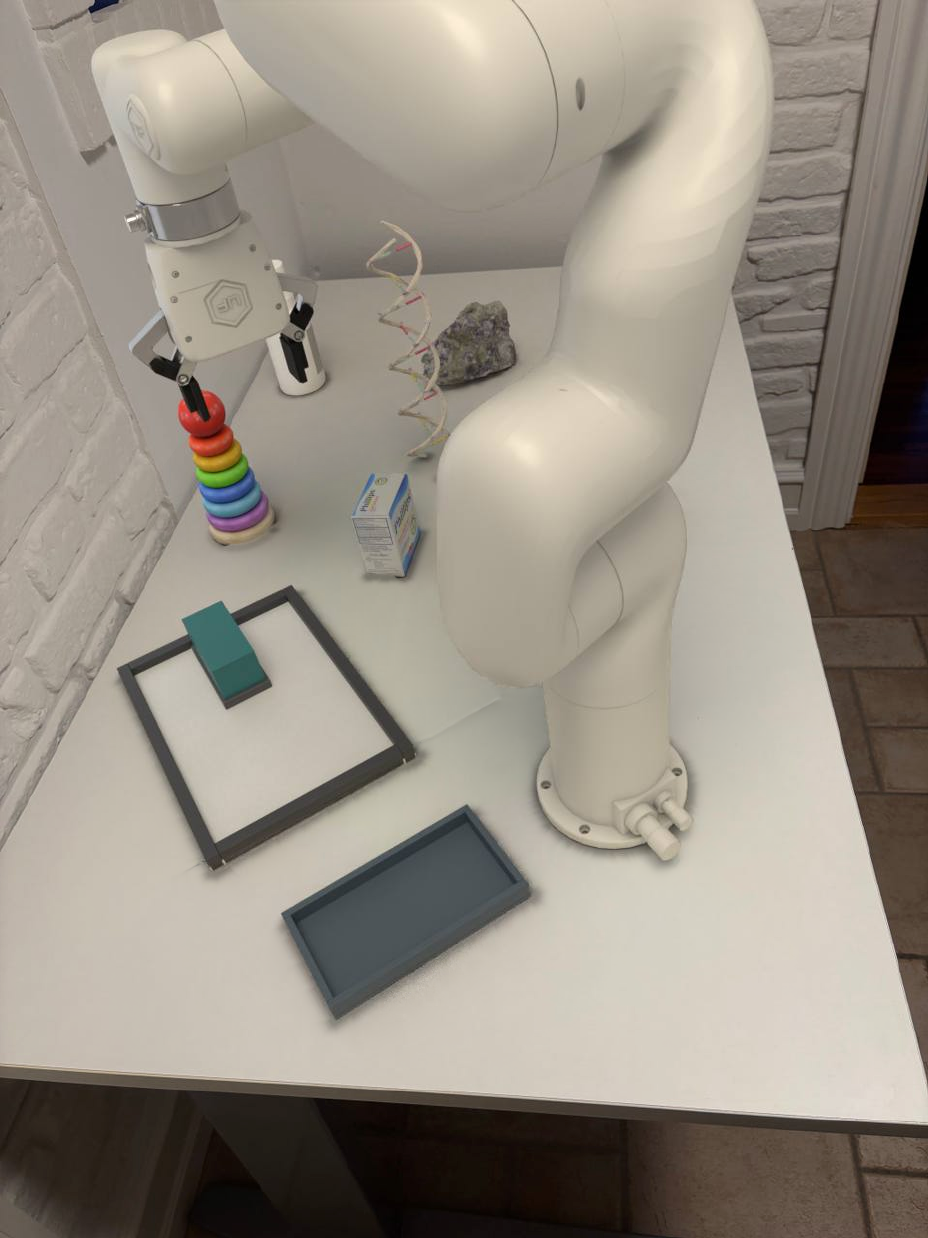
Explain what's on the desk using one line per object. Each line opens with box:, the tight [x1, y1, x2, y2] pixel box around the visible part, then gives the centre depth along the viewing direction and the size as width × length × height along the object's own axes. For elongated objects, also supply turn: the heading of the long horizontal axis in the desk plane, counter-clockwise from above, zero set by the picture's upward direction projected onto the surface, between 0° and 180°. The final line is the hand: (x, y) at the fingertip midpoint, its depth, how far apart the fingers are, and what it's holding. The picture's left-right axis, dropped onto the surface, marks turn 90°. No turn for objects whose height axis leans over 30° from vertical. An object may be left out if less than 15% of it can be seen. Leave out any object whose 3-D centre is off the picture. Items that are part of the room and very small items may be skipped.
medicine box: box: [350, 472, 421, 578], centre depth 105 cm, size 8×4×9 cm, turn 168°
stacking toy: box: [177, 389, 275, 546], centre depth 110 cm, size 8×8×19 cm
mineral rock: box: [420, 300, 517, 386], centre depth 132 cm, size 13×11×10 cm
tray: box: [280, 804, 531, 1021], centre depth 75 cm, size 9×17×2 cm, turn 121°
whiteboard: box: [116, 584, 417, 873], centre depth 92 cm, size 28×20×2 cm
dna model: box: [365, 220, 451, 459], centre depth 109 cm, size 7×6×30 cm
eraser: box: [181, 600, 272, 710], centre depth 95 cm, size 10×5×5 cm, turn 31°
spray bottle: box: [265, 259, 327, 396], centre depth 134 cm, size 7×7×18 cm
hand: (251, 395), depth 89 cm, fingers open, 9 cm apart
